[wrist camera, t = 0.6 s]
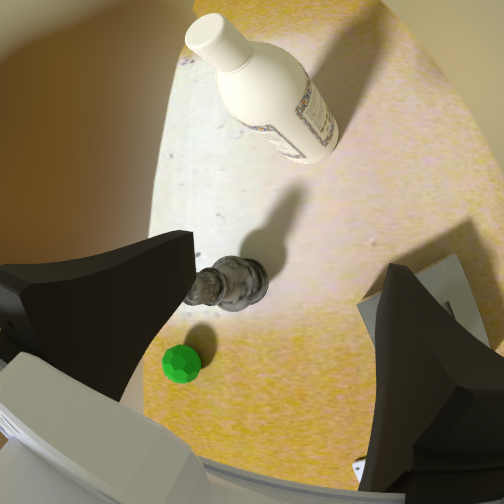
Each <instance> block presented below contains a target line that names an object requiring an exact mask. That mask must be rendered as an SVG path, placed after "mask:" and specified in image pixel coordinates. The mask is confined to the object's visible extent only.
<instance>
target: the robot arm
mask: <svg viewBox="0 0 504 504" xmlns="http://www.w3.org/2000/svg"><path fill="white" fill-rule="evenodd" d="M196 278H197V277H196V265H195V252H194V238H193V232H190V231H183V230H176V231H171V232H167V233H164V234H161V235H158V236H155V237H152V238H149V239H146V240H143V241H140V242H137V243H134V244H131V245H128V246H125V247H122V248H119V249H115V250H112V251H109V252H105V253H102V254H98V255H93V256H90V257H85V258H80V259H74V260H68V261H62V262H53V263H42V264H4V265H1V266H0V328H1V331H0V431H1V432H2V433H3V434H4V435H5V436H6V437H7V438H8V439H9V441H8V442H7V443H6V444H5V446H4V447H3V448H2V449H1V450H0V504H504V357H502V356H501V355H499V354H498V353H496V352H495V351H493V350H492V349H490V348H489V347H488V346H486V345H485V344H484V343H482V342H481V341H480V340H478V339H477V338H476V337H474V336H473V335H472V334H471V333H470V332H468V331H467V330H466V329H465V328H464V327H463V326H462V325H461V324H459V323H458V322H457V321H456V320H455V319H454V318H453V317H452V316H451V315H450V314H449V313H448V312H447V311H446V310H445V309H444V308H443V307H442V306H441V305H440V304H439V303H438V301H437V300H436V299H435V298H434V297H433V296H432V295H431V294H430V292H429V291H428V290H427V289H426V288H425V287H424V285H423V284H422V283H421V282H420V281H419V280H418V278H417V277H416V276H415V275H414V274H413V273H412V271H411V270H410V269H409V268H408V267H407V266H404V265H398V264H392V263H389V267H388V271H387V275H386V279H385V282H384V286H383V290H382V293H381V297H380V300H379V304H378V307H377V310H376V322H375V354H376V402H375V410H374V418H373V424H372V430H371V436H370V442H369V447H368V452H367V456H366V459H362V460H358V461H355V462H353V465H352V467H353V469H354V471H355V474H356V476H357V478H358V481H359V483H360V485H359V488H358V491H352V490H343V489H335V488H327V487H321V486H314V485H308V484H303V483H297V482H292V481H287V480H283V479H278V478H274V477H269V476H265V475H261V474H257V473H253V472H249V471H246V470H242V469H239V468H235V467H232V466H228V465H225V464H222V463H219V462H216V461H213V460H210V459H207V458H204V457H201V456H198V455H196V453H195V452H194V451H193V450H192V448H191V447H190V446H189V445H188V444H187V443H186V442H184V441H183V440H182V439H180V438H179V437H177V436H176V435H175V434H173V433H172V432H171V431H170V430H168V429H167V428H166V427H164V426H163V425H161V424H159V423H157V422H155V421H153V420H151V419H150V418H148V417H146V416H144V415H142V414H141V413H139V412H137V411H135V410H134V409H131V408H129V407H127V406H125V405H123V404H121V403H119V401H120V399H121V397H122V395H123V392H124V390H125V388H126V386H127V384H128V382H129V380H130V378H131V376H132V374H133V373H134V371H135V368H136V367H137V365H138V363H139V361H140V360H141V358H142V356H143V355H144V353H145V351H146V350H147V348H148V346H149V345H150V343H151V342H152V340H153V339H154V337H155V336H156V335H157V333H158V332H159V331H160V330H161V328H162V327H163V326H164V325H165V323H166V322H167V321H168V320H169V318H170V317H171V316H172V315H173V313H174V312H175V311H176V309H177V308H178V307H179V306H180V304H181V303H182V302H183V300H184V299H185V298H186V296H187V294H188V293H189V291H190V289H191V288H192V286H193V284H194V282H195V280H196ZM356 467H359V468H356Z"/></svg>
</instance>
